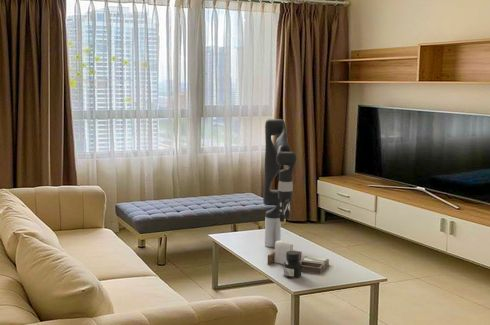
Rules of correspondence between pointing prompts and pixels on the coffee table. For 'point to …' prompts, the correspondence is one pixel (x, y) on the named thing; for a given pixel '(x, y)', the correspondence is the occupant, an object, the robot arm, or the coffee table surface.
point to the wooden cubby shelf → (272, 254)
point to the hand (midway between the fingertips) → (284, 219)
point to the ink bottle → (292, 265)
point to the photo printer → (282, 251)
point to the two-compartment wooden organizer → (314, 264)
